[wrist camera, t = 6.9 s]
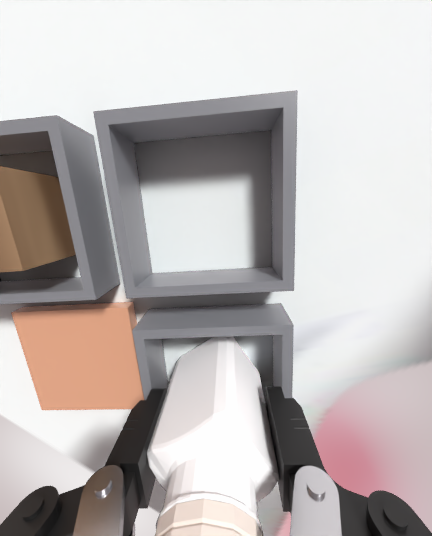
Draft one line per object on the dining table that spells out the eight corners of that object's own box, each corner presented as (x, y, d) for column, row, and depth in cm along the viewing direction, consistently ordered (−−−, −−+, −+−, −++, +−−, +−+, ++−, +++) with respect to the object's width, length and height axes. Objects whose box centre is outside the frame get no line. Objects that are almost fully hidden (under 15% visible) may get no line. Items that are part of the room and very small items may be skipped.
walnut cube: (67, 178, 12) (-9, 164, 8) (83, 252, 13) (23, 270, 9) (-3, 185, 12) (-108, 174, 8) (18, 257, 13) (-67, 276, 9)
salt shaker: (210, 399, 15) (183, 702, 6) (174, 355, 14) (78, 620, 5) (263, 372, 14) (326, 669, 5) (227, 324, 14) (227, 567, 4)
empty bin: (281, 117, 11) (297, 90, 8) (281, 275, 13) (293, 290, 10) (122, 132, 11) (93, 111, 9) (145, 282, 13) (126, 298, 11)
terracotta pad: (133, 301, 14) (127, 307, 13) (149, 398, 15) (145, 408, 14) (23, 306, 14) (11, 312, 13) (51, 400, 16) (42, 410, 15)
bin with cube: (93, 135, 11) (56, 115, 9) (120, 283, 13) (95, 299, 11) (-50, 149, 12) (-121, 133, 9) (-4, 289, 14) (-54, 306, 11)
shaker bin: (281, 303, 13) (293, 324, 11) (281, 412, 15) (291, 452, 13) (149, 309, 14) (132, 330, 11) (165, 414, 16) (153, 452, 13)
